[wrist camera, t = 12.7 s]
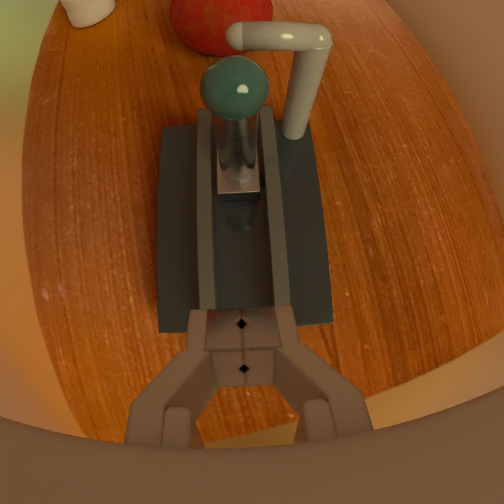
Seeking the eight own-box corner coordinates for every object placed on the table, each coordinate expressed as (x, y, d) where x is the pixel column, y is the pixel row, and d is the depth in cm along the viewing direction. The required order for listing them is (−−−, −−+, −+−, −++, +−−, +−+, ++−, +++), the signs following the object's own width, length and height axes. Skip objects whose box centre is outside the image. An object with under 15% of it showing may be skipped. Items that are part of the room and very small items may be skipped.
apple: (172, 22, 30) (159, -44, 20) (257, 8, 31) (260, -58, 21) (181, 75, 28) (163, -4, 18) (282, 58, 29) (294, -20, 19)
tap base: (168, 330, 23) (82, 345, 10) (169, 145, 27) (123, 29, 13) (323, 322, 24) (412, 327, 10) (303, 138, 27) (340, 19, 13)
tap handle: (216, 202, 22) (193, 101, 11) (215, 153, 23) (197, 39, 12) (261, 199, 22) (276, 97, 11) (257, 151, 23) (267, 36, 12)
